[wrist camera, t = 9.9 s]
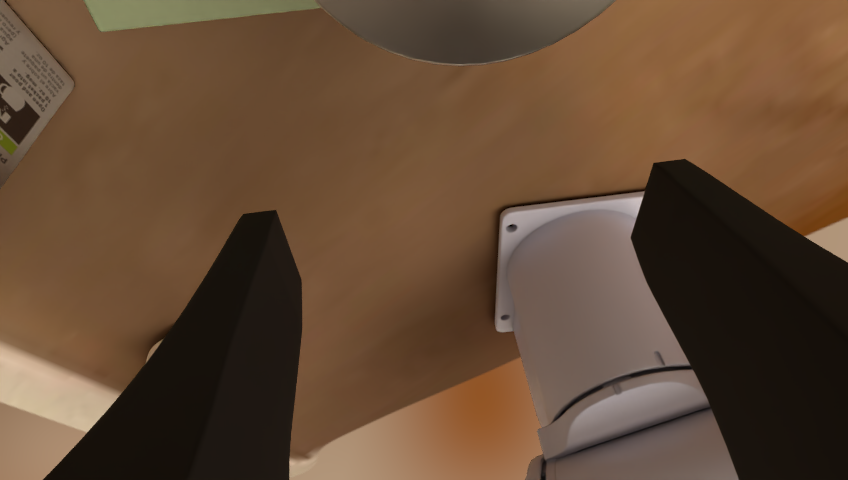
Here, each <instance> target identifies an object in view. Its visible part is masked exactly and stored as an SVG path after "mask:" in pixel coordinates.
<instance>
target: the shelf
mask: <svg viewBox="0 0 848 480" xmlns="http://www.w3.org/2000/svg"><path fill="white" fill-rule="evenodd" d="M83 1H84V2H85V4H86V6H87V8H88V10H89V12H90V14H91V16H92V18H93V20H94V22H95V24H96V26H97V28H98V30H99V31H100V32H108V31H117V30H126V29H135V28H144V27H153V26H162V25H172V24H181V23H190V22H199V21H208V20H217V19H226V18H235V17H244V16H254V15H263V14H272V13H281V12H290V11H299V10H308V9H317V8H321V7H320V6H319V5H318V4H317V3H316V2H315V1H314V0H83Z"/></svg>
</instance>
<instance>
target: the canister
mask: <svg viewBox="0 0 848 480" xmlns="http://www.w3.org/2000/svg"><path fill="white" fill-rule="evenodd" d="M314 1H315V2H316V3H317V4H318V5H319V6H320V7H321V8H322V9H323V10H324V11H326V12H327V13H328V14H329V15H330V16H331V17H333V18H334V19H335V20H336V21H337V22H339V23H340V24H341V25H342V26H344V27H345V28H347V29H348V30H350V31H351V32H353V33H354V34H356V35H357V36H359V37H360V38H362V39H363V40H365V41H367V42H369V43H371V44H373V45H375V46H377V47H379V48H381V49H383V50H386V51H388V52H390V53H393V54H396V55H399V56H402V57H405V58H408V59H411V60H416V61H421V62H426V63H430V64H436V65H450V66H472V65H485V64H491V63H497V62H502V61H507V60H511V59H514V58H517V57H521V56H524V55H528V54H531V53H533V52H535V51H538V50H540V49H542V48H545V47H547V46H549V45H552V44H554V43H556V42H558V41H559V40H561V39H563V38H565V37H567V36H568V35H570V34H572V33H574V32H575V31H577V30H579V29H580V28H581V27H583V26H584V25H586V24H587V23H588V22H590V21H591V20H593V19H594V18H596V17H597V16H598V15H600V14H601V13H602V12H603V11H604V10H606V9H607V8H608V7H609V6H610V5H611V4H612V3H614V2H615V1H616V0H314Z"/></svg>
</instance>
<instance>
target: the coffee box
mask: <svg viewBox="0 0 848 480" xmlns="http://www.w3.org/2000/svg"><path fill="white" fill-rule="evenodd" d="M74 86H75V84H74V81H73V80H72V79H71V77H70V76H69V75H68V74H67V73H66V71H65V70H64V69H63V68H62V67H61V66H60V65H59V63H58V62H57V61H56V60H55V59H54V58H53V56H52V55H51V54H50V53H49V52H48V51H47V49H46V48H45V47H44V46H43V45H42V44H41V43H40V42H39V40H38V39H37V38H36V37H35V36H34V35H33V34H32V32H31V31H30V30H29V29H28V28H27V27H26V26H25V25H24V23H23V22H22V21H21V20H20V19H19V17H18V16H17V15H16V14H15V13H14V12H13V11H12V9H11V8H10V7H9V6H8V5H7V4H6V2H5V1H4V0H0V189H1V187H2V186H3V185H4V184H5V182H6V181H7V179H8V178H9V176H10V175H11V173H12V172H13V171H14V170H15V168H16V167H17V166H18V164H19V162H20V161H21V160H22V159H23V157H24V156H25V155H26V153H27V152H28V150H29V149H30V147H31V146H32V144H33V143H34V142H35V140H36V139H37V137H38V136H39V135H40V133H41V132H42V131H43V129H44V128H45V126H46V125H47V124H48V122H49V121H50V120H51V118H52V117H53V115H54V114H55V113H56V111H57V110H58V108H59V107H60V106H61V105H62V103H63V102H64V101H65V99H66V98H67V97H68V95H69V94H70V93H71V92H72V90H73V88H74Z"/></svg>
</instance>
